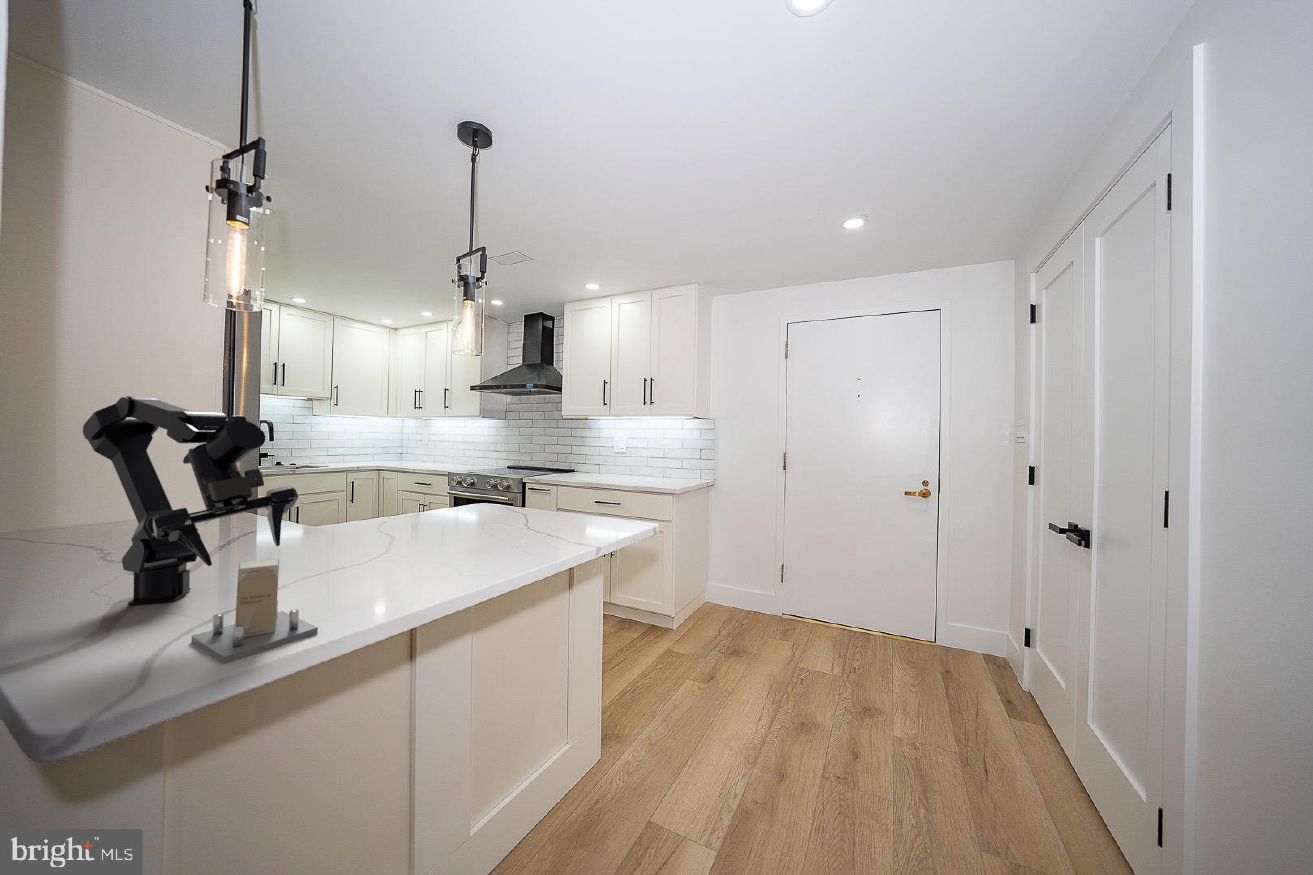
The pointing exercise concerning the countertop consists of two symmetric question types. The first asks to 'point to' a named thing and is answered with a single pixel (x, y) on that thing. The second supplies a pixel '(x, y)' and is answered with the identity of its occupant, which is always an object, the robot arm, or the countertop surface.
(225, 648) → the pin tray
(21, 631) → the countertop surface
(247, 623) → the box
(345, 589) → the countertop surface
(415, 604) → the countertop surface
